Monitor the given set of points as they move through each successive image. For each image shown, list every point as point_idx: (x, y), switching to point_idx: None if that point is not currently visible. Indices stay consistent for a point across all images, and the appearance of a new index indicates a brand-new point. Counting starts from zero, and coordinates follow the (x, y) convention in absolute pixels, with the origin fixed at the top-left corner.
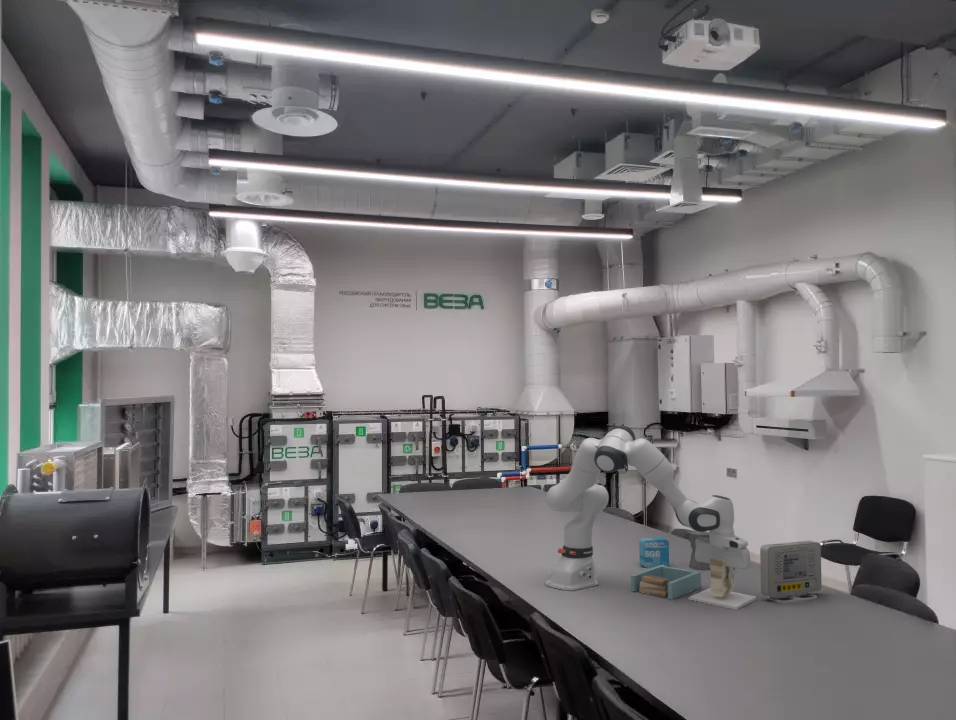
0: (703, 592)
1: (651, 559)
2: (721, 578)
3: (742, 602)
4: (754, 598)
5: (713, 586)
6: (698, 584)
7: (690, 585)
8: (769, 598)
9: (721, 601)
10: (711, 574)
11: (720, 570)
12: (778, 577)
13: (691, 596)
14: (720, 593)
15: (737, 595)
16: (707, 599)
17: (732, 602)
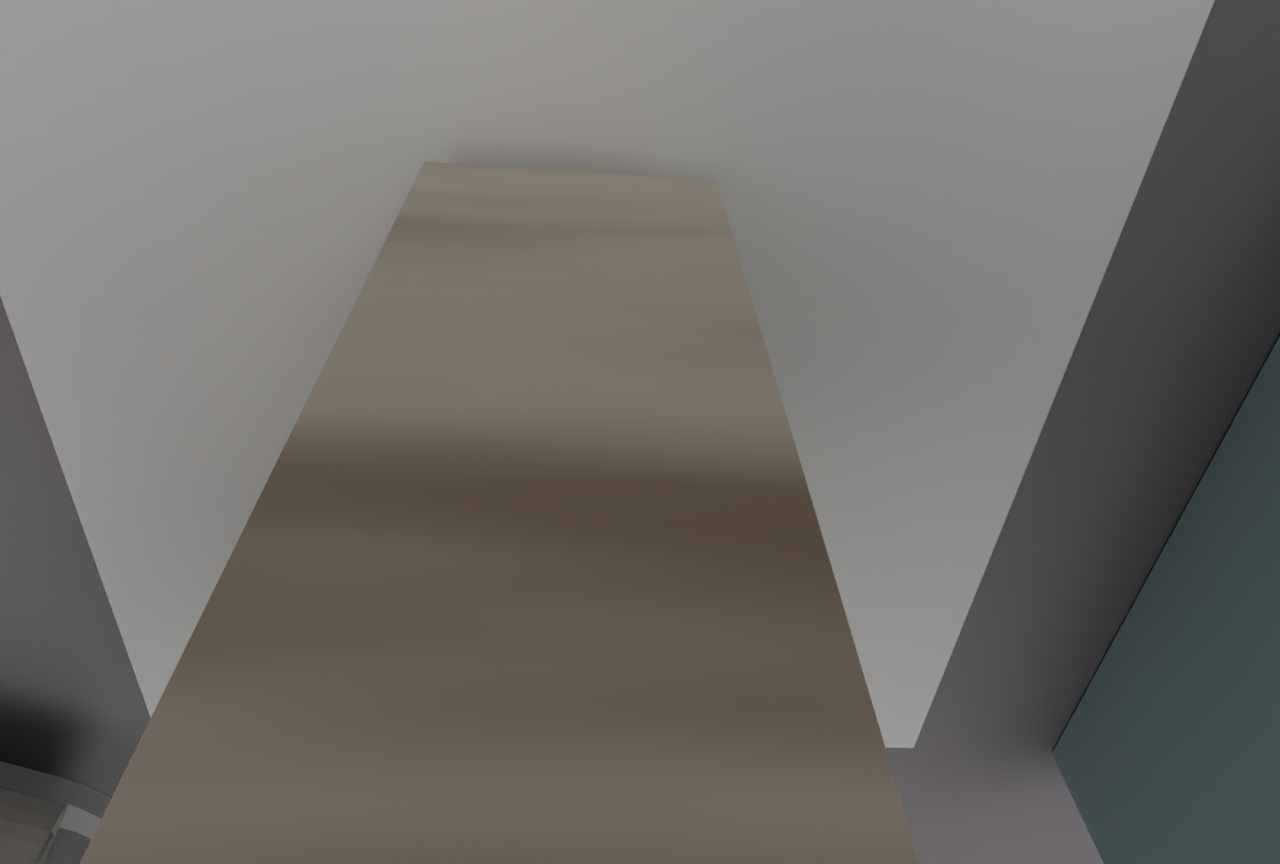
0: (960, 479)
1: None
2: (289, 481)
3: (53, 312)
4: (141, 667)
5: (649, 278)
6: (1105, 753)
7: (1257, 577)
8: (51, 788)
9: (411, 82)
10: (777, 544)
11: (155, 789)
12: None
13: (1176, 39)
14: (430, 193)
15: None
16: (756, 29)
17: (185, 171)
